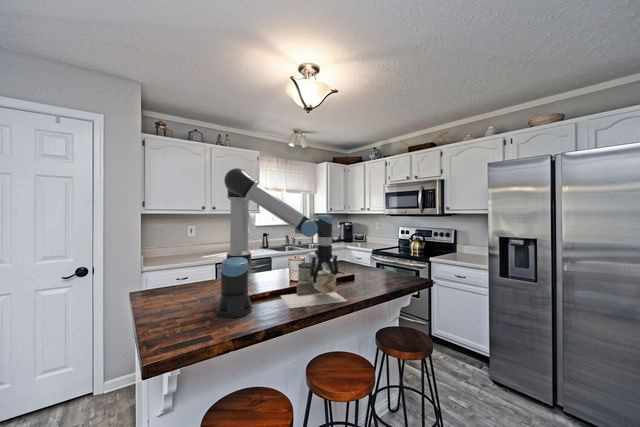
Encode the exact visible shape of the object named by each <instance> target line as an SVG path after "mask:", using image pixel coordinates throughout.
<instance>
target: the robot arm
mask: <svg viewBox="0 0 640 427" xmlns="http://www.w3.org/2000/svg"><path fill="white" fill-rule="evenodd" d="M223 180H224V185H225V187H226V189H227V199H228V200H229V201H230V218H229V219H230V222H229V223H230V227H229V231H230V236H229V238H230V239H229V240H230V241H229V250H228V251H227V253H226V259H223V261H221V264H220V265H221V266H220V297H219V299H218V303H217V307H216V315H217V316H218V317H221V318H223V319H235V318H241V317H244V316H247V315H249V314H251V313H252V311H253V304H252V302H251V301H252V300H251V299H250V295H249V275H250V273H251V272H252V269H253V264H252V252H251V250H249V210H250V209H249V207H250V201H252V202H254V203H255V204H256V205H258V206H260V207H261V208H262V209H264V210H265V211H267V212H269V213H270V214H272V215H273V216H275V217H276V218H278V219H279V220H281V221H282V222H284V223H285V224H287V225H288V226H290V227H292V228H293V229H294V233H295V234H299V235H303V236H304V237H307V238H312V237H314V236H315V235H316V234H317V249H316V250H317V256H312V263H311V269H310V275H311V276H313V283H315V289H316V290H318V277H317V274H318V272H319V269H320V267H321V265H322V263H323V264H327V266H328V268H329V272H331V273H332V274H334V275H336V276H337V275H338V274H339V267H338V255H336V254H332V253H333V252H332V251H333V246H332V244H333V217H332V216H331V215H330V214H329V215H328V214H319V215H318V216H317V218H309V217H308V216H306V215H304V214H303V213H302V212H300V211H298V210H297V209H295V208H294V207H292V205H289V204H288V203H287V202H285V201H283V200H282V199H280V198H279V197H278V196H276V195H274V194H273V193H271V192H270V191H268V189H266V188H264V187H263V186H261V185H259V181H258V180H256V179H254V178H253V177H252V176H251V175H250V174H249V173H248V172H247V171H246V170H245V169H242V168H232V169H230V170H228V172H227V173H226V174H225V176H224V179H223ZM317 258H318V263H317V266H316V268H315V263H316V259H317ZM331 259H332V261H331ZM332 263H333V265H332ZM314 269H315V271H314Z"/></svg>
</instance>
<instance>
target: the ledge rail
mask: <svg viewBox="0 0 640 427" xmlns="http://www.w3.org/2000/svg"><path fill="white" fill-rule="evenodd" d="M314 293H321V292H319V291H318V290H316V289H315V288H314V287H313V283H307V282H305V283H304V284H298V283H297V284H296V294H297V295H305V294H314Z"/></svg>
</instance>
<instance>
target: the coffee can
mask: <svg viewBox="0 0 640 427" xmlns="http://www.w3.org/2000/svg"><path fill="white" fill-rule="evenodd" d="M297 266H298V276H297V277H298V278H297V279H298V280H297V281H298V283H297V284H304V283H305V282H307V283H313V276H311V275H310V269H311V263H309V262H301V263H298V264H297ZM315 268H316V264H315ZM314 271H315V269H314Z"/></svg>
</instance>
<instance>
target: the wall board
mask: <svg viewBox="0 0 640 427" xmlns="http://www.w3.org/2000/svg"><path fill="white" fill-rule="evenodd" d="M280 297H281V299H282V300H283V301H284V303H285V304H286V305H287V307H288V308H289V309H295V308H296V309H297V308H304V307H310V306H311V307H312V306H319V305H326V304H335V303H342V302H348V300H347V299H346V298H344V297H343V296H341V295H340V294H338V293H337V292H336V291H334V292H325V293H314V294H305V295H297V293H291V294H285V295H284V294H282V295H280Z"/></svg>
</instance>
